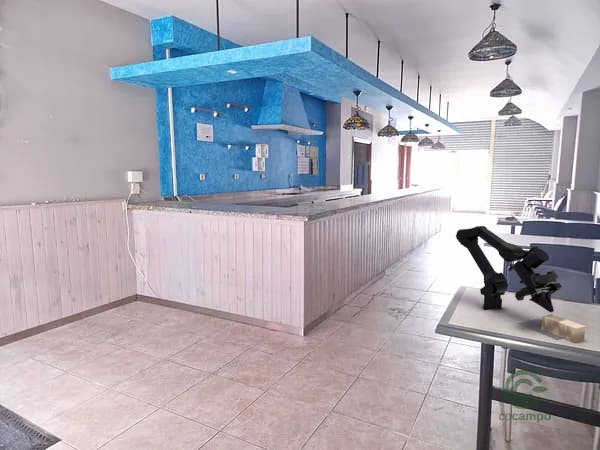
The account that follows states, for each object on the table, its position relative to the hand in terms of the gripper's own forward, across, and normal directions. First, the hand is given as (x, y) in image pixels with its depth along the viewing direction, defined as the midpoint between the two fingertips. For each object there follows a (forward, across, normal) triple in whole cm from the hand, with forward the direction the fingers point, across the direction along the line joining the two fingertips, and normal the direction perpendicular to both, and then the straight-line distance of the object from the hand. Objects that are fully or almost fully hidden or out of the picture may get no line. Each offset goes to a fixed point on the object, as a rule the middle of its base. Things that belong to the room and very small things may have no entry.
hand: (552, 311), depth 143 cm
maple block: (+2, 0, +4) cm, 5 cm away
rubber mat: (+4, 0, +6) cm, 8 cm away
